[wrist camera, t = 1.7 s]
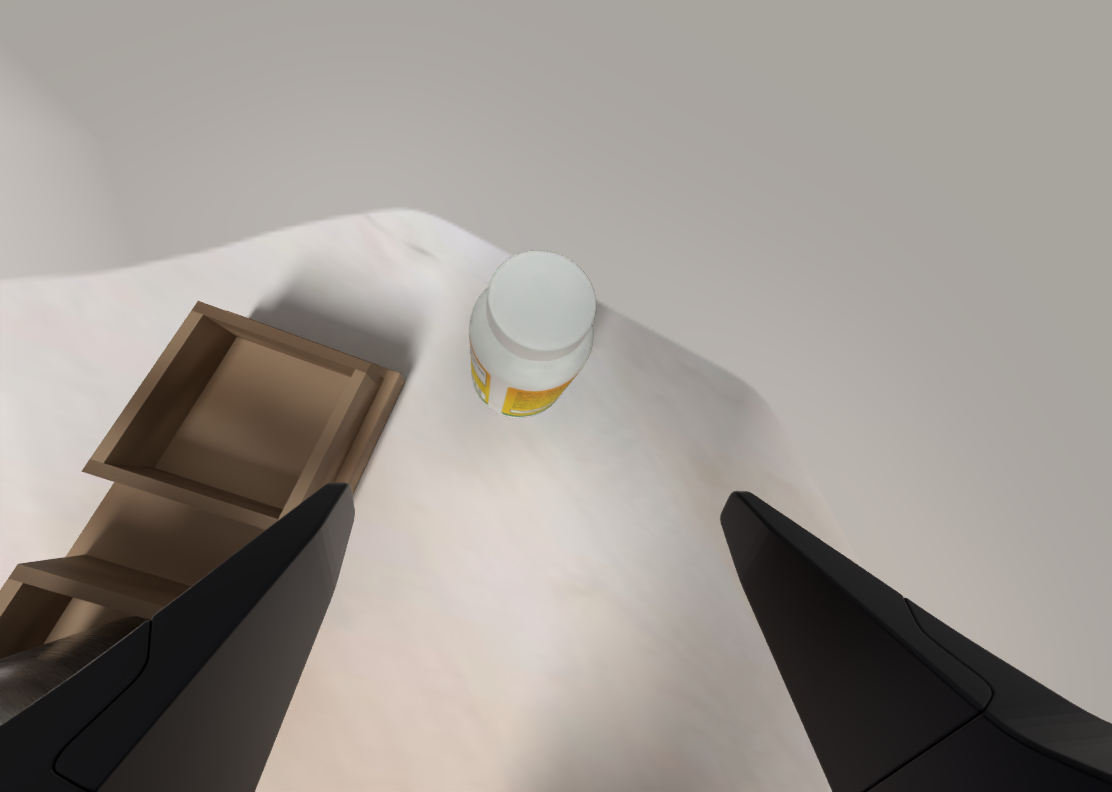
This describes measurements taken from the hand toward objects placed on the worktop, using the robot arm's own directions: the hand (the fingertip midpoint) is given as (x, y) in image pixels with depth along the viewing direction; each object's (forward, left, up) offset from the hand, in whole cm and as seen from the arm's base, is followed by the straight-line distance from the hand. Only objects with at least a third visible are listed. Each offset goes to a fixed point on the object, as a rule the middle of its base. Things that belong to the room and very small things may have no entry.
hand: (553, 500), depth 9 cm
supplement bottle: (+7, -2, -13) cm, 15 cm away
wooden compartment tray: (+2, +14, -13) cm, 19 cm away
